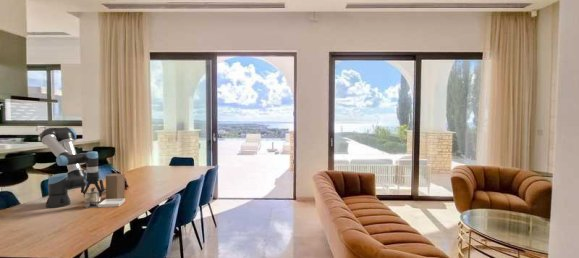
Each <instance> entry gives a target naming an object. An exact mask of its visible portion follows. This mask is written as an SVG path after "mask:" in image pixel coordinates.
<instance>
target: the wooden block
mask: <svg viewBox="0 0 579 258" xmlns="http://www.w3.org/2000/svg"><path fill="white" fill-rule="evenodd" d="M125 176H126V175H125V173H111V174H107V175H105V199H124V198H125V197H126V196H125V189H126V188H125V187H126V186H125V184H126V183H125V180H126V179H125V178H126V177H125Z"/></svg>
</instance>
